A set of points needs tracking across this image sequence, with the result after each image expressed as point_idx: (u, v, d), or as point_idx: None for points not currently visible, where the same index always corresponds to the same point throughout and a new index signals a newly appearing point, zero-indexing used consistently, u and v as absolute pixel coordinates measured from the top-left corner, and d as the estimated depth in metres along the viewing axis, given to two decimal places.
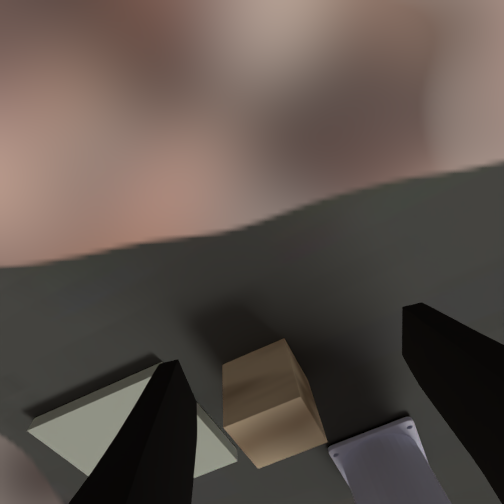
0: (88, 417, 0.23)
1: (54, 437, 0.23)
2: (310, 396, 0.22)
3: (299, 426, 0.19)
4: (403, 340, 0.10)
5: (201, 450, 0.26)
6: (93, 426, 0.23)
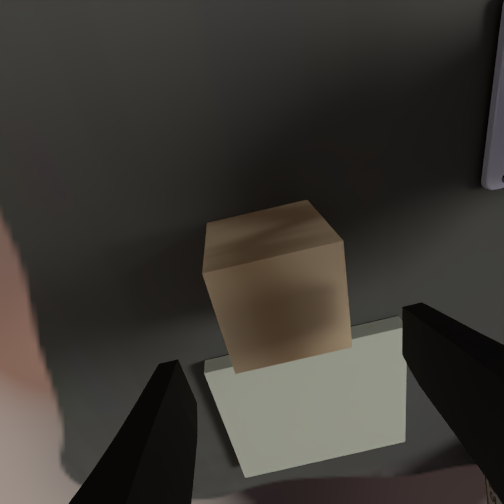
0: (247, 438, 0.21)
1: (264, 465, 0.23)
2: (292, 222, 0.13)
3: (277, 282, 0.11)
4: (403, 340, 0.10)
5: (358, 360, 0.19)
6: (262, 437, 0.21)
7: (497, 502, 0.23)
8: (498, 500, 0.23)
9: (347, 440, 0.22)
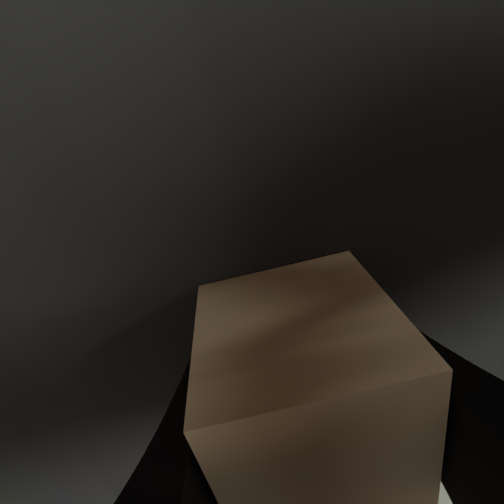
0: None
1: None
2: (336, 302, 0.08)
3: (323, 436, 0.06)
4: None
5: None
6: None
7: None
8: None
9: None
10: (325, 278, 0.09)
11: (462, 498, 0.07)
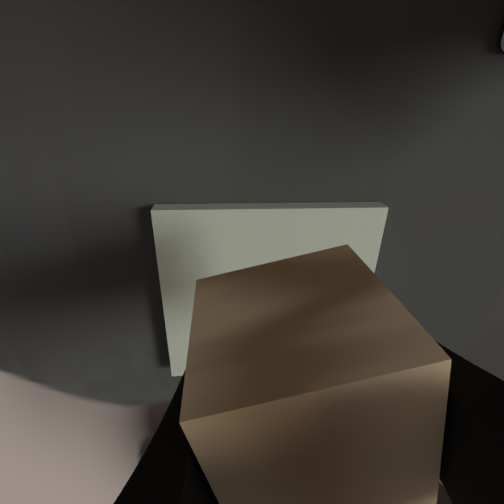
0: (184, 320, 0.18)
1: None
2: (334, 294, 0.08)
3: (321, 427, 0.06)
4: None
5: (328, 240, 0.17)
6: None
7: None
8: None
9: None
10: (323, 271, 0.09)
11: (462, 498, 0.07)
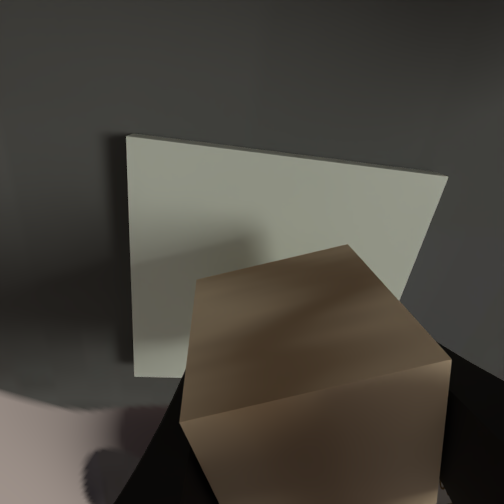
0: (159, 302, 0.13)
1: (169, 362, 0.15)
2: (334, 294, 0.08)
3: (321, 427, 0.06)
4: None
5: (363, 213, 0.13)
6: (182, 309, 0.14)
7: None
8: None
9: None
10: (324, 271, 0.09)
11: (462, 498, 0.07)
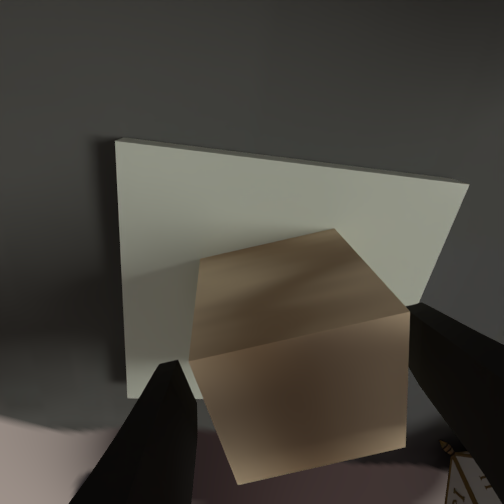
0: (153, 320, 0.12)
1: None
2: (320, 267, 0.09)
3: (305, 370, 0.07)
4: None
5: (376, 224, 0.11)
6: (179, 327, 0.13)
7: None
8: None
9: None
10: (312, 250, 0.10)
11: None
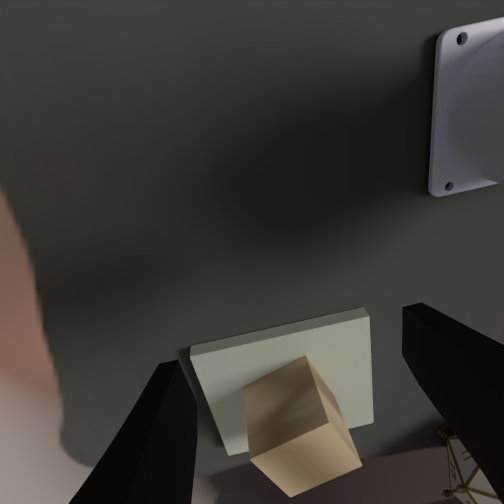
0: (229, 418, 0.23)
1: (245, 443, 0.25)
2: (297, 392, 0.19)
3: (297, 450, 0.18)
4: (403, 340, 0.10)
5: (327, 346, 0.21)
6: (243, 417, 0.23)
7: (456, 478, 0.26)
8: (457, 476, 0.25)
9: None
10: (294, 376, 0.20)
11: None
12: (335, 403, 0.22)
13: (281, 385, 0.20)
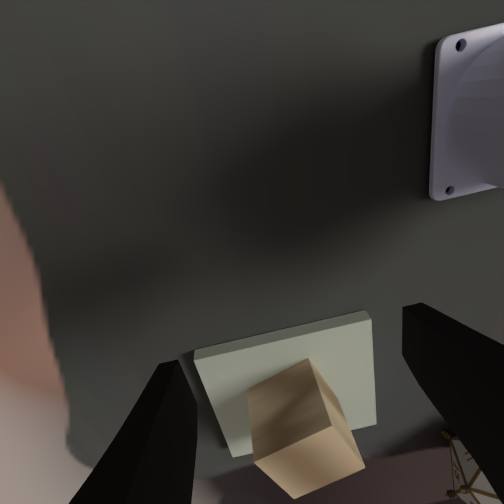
0: (233, 420, 0.24)
1: (249, 445, 0.25)
2: (300, 395, 0.20)
3: (300, 453, 0.18)
4: (403, 340, 0.10)
5: (329, 349, 0.21)
6: (247, 420, 0.24)
7: (459, 478, 0.26)
8: (460, 476, 0.26)
9: None
10: (297, 379, 0.21)
11: None
12: (338, 405, 0.22)
13: (284, 388, 0.21)
